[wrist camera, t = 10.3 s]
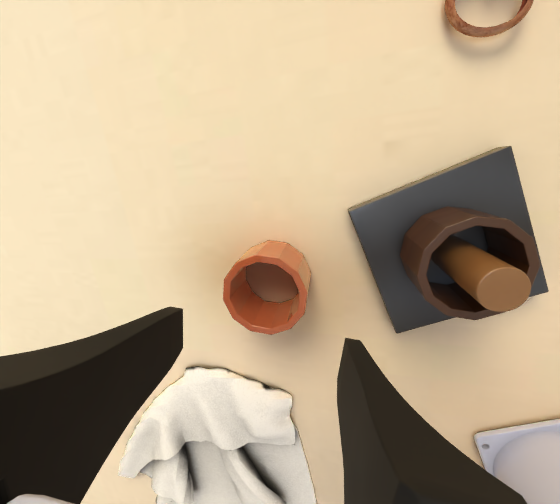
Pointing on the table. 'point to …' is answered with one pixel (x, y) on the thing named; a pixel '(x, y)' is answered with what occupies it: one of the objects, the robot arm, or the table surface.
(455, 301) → the walnut ring
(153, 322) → the robot arm
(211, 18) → the table surface
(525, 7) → the key
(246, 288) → the terracotta ring
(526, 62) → the table surface
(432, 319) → the peg stand
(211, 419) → the cloth
